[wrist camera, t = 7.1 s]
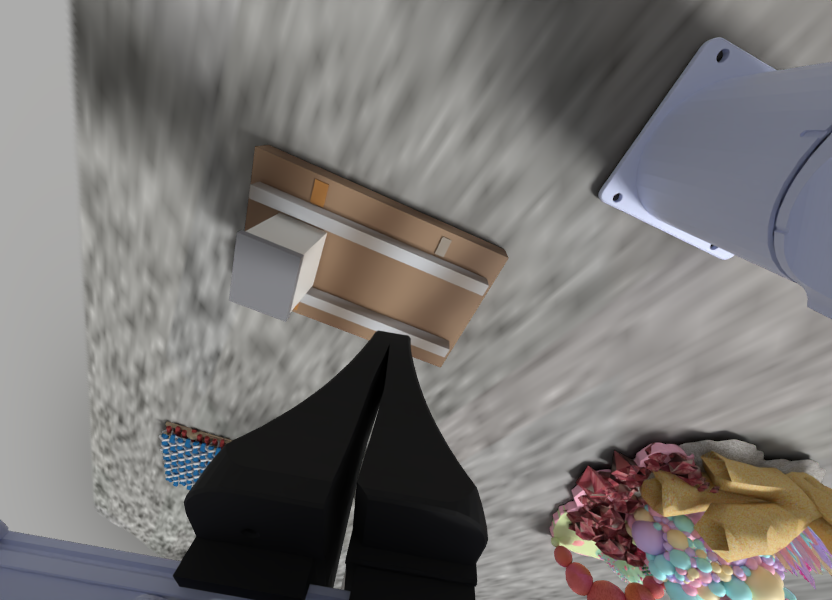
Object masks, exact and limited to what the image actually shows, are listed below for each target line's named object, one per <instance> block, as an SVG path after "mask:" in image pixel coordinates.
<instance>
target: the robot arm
mask: <svg viewBox="0 0 832 600" xmlns="http://www.w3.org/2000/svg"><path fill="white" fill-rule="evenodd" d="M720 51H722V52H723V57H722V59H721V60H720V61H719V62H717V60H716V57H717V55H718V53H719V52H720ZM617 193H619V198H618V199H617V200H616V201H613V197H614V195H615V194H617ZM598 197H599V199H600V200H601V201H602V202H604V203H607V204H609V205H611V206H613V207H615V208H617V209H619V210H621V211H623V212H625V213H627V214H629V215H631V216H633V217H635V218H637V219H639V220H641V221H644V222H646V223H648V224H650V225H652V226H654V227H656V228H658V229H660V230H662V231H664V232H666V233H668V234H670V235H672V236H674V237H676V238H678V239H681V240H683V241H685V242H687V243H689V244H691V245H693V246H695V247H697V248H699V249H701V250H703V251H705V252H707V253H709V254H711V255H713V256H715V257H717V258H720V259H723V260H725V259H729V258H731V257H732V256H734V255H736V256H738V257H741V258H743V259H745V260H747V261H749V262H752V263H754V264H756V265H758V266H760V267H763V268H765V269H767V270H769V271H771V272H773V273H776V274H778V275H780V276H782V277H784V278H787V279H789V280H791V281H793V282H796V283H798V284H799V285H801V286H802V287H803V288H804V289H805V291H806V293H807V296H808V303H807V306H808V307H809V308H811V309H813V310H814V311H816V312H818V313H820V314H822V315H824V316H826V317H828V318H830V319H832V62H827V63H821V64H815V65H809V66H802V67H796V68H790V69H784V70H776V69H774V68H772V67H771V66H769V65H767V64H766V63H764V62H762V61H761V60H759V59H757V58H756V57H754V56H752V55H751V54H749V53H747V52H746V51H744V50H742V49H741V48H739V47H737V46H736V45H734V44H732V43H731V42H729V41H727V40H726V39H724V38H721V37H716V38H713V39H710V40H708V41H706V42H705V43H704V44H703V45H702V46H701V47H700V48H699V50H698V51H697V53H696V54H695V55H694V57H693V58H692V60H691V61H690V63H689V64H688V65H687V67H686V68H685V70H684V71H683V73H682V74H681V75H680V77H679V78H678V80H677V81H676V82H675V84H674V85H673V87H672V88H671V90H670V91H669V92H668V94H667V95H666V97H665V98H664V100H663V101H662V102H661V104H660V105H659V107H658V108H657V110H656V111H655V112H654V114H653V115H652V117H651V118H650V120H649V121H648V122H647V124H646V125H645V127H644V128H643V130H642V131H641V132H640V134H639V135H638V137H637V138H636V139H635V141H634V142H633V144H632V145H631V147H630V148H629V149H628V151H627V152H626V154H625V155H624V157H623V158H622V159H621V161H620V162H619V164H618V165H617V167H616V168H615V169H614V171H613V172H612V174H611V175H610V177H609V178H608V179H607V181H606V182H605V184H604V185H603V187H602V188H601V189H600V191H599V195H598ZM711 244H712V245H713V246H712V247H710V246H711ZM378 409H379V410H378ZM377 412H378V413H377ZM376 415H377V417H376ZM375 418H376V421H375ZM374 421H375V424H374ZM373 424H374V428H373V431H372V435H371V438H370V441H369V445H368V448H367V451H366V455H365V458H364V461H363V464H362V468H361V471H360V467H361V463H362V459H363V455H364V451H365V448H366V445H367V442H368V439H369V436H370V433H371V430H372V427H373ZM359 471H360V474H359ZM358 476H359V477H358ZM356 484H357V487H356ZM355 488H356V498H355V509H354V521H353V530H352V534H351V539H350V543H349V547H348V551H347V556H346V561H345V564H346V574H345V587H344V590H341V589H335V588H333V586H334V582H335V577H336V573H337V568H338V564H339V559H340V555H341V550H342V546H343V541H344V537H345V532H346V528H347V523H348V519H349V515H350V510H351V506H352V501H353V497H354V493H355ZM184 506H185V511H186V514H187V517H188V519H189V521H190V523H191V525H192V528H193V530H194V532H195V534H196V538H195V539H194V541H193V543H192V544H191V546H190V548H189V549H188V551H187V553H186V554H185V556H184V558H183V559H182V561H177V560H171V559H166V558H160V557H154V556H149V555H143V554H137V553H132V552H126V551H120V550H114V549H109V548H103V547H98V546H92V545H87V544H81V543H74V542H70V541H64V540H58V539H52V538H47V537H41V536H35V535H30V534H24V533H19V532H13V531H8V527H7V526H6V524H5V523H4V522H2V521H1V520H0V600H475V587H474V586H476V585H477V570H476V563H477V561H478V559H479V557H480V556H481V554H482V552H483V550H484V549H485V547H486V544H487V541H488V534H487V526H486V520H485V515H484V511H483V507H482V503H481V500H480V496H479V493H478V490H477V487H476V486H475V484H474V483H473V482H472V480H471V479H470V478H469V476H468V475H467V474H466V472H465V471H464V469H463V468H462V467H461V465H460V464H459V462H458V461H457V459H456V457H455V456H454V454H453V453H452V451H451V450H450V448H449V446H448V445H447V443H446V441H445V439H444V438H443V436H442V434H441V432H440V431H439V429H438V427H437V425H436V423H435V421H434V419H433V417H432V415H431V413H430V410H429V408H428V406H427V404H426V401H425V399H424V396H423V393H422V390H421V388H420V385H419V382H418V378H417V375H416V371H415V367H414V363H413V358H412V352H411V338H410V337H409V336H408V335H402V334H396V333H390V332H385V331H379V330H378V331H376V332H375V333H374V335H373V336H372V338H371V339H370V340H369V342H368V343H367V344H366V345H365V346H364V348H363V349H362V350H361V351H360V352H359V353H358V354H357V355H356V356H355V358H354V359H353V360H352V361H351V362H350V363H349V364H348V365H347V366H346V367H345V368H344V369H342V370H341V371H340V372H339V373H338V374H337V375H336V376H335V377H334V378H333V379H332V380H330V381H329V382H328V383H327V384H326V385H324V386H323V387H322V388H321V389H319V390H318V391H317V392H315V393H314V394H313V395H311V396H310V397H308V398H307V399H306V400H304V401H303V402H301V403H300V404H298V405H297V406H295V407H294V408H292V409H291V410H289V411H287V412H286V413H284V414H282V415H281V416H279V417H277V418H276V419H274V420H272V421H270V422H269V423H267V424H265V425H263V426H261V427H260V428H258V429H256V430H254V431H252V432H250V433H248V434H245V435H243V436H241V437H239V438H237V439H235V440H233V441H231V442H229V443H227V444H225V446H224V447H223V448H222V449H221V450H220V452H219V453H218V454H217V455H216V456H215V457H214V458H213V460H212V461H211V462H210V463H209V464H208V466H207V467H206V468H205V470H204V471H203V473H202V474H201V476H200V477H199V478H198V480H197V481H196V483H195V484H194V485H193V487H192V488H191V490H190V491H189V493H188V494H187V495H186V498H185V500H184Z"/></svg>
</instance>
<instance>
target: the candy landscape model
mask: <svg viewBox="0 0 832 600" xmlns="http://www.w3.org/2000/svg"><path fill="white" fill-rule="evenodd" d="M763 458H764V453H763V452H762V451H758V450H756V446H755V445H753V444H749V443H746V442H742V441H739V440H736V439H732V440H725V441H718V442H716V441H712V440H704V441H698V442H691V443H684V444H681V445H680V446H677V445H675V444H663V443H659V442H658V443H655V442H654V443H652V444H650V445H648V446H647V447H645V448H643V449H642V450H641V451H639V452H638V453H637V454H636V458H634V459H633V460H631V459H629V458H628V457H626V456H624V455H622V454H620V453H619V452H617V451H615V450H614V455H613V462H612V469H611V470H610V469H605V470H598V471H595V470H594V469H592V468H591V467H590V466H587V468H586V469H585V470H584V472H583V473H582V475H581V476H580V477H579V479H578V480H577V482H576V483H577V484H578V485H577V486H576V487H575V488H573V489H572V494H573V497H574V501H571V502H568V503H567V504H566V505H562V506H559V509H558V511H557V512H556V513H555V514H553V521H552V525H551V526H550V532H551V535H552V538H551V543H552V545H553V546H555V547H556V548H555V551H554V556H555V559H556V561H557V562H558V564H559V565H561V566H563V567H567V568H566V580H567V583H568V585H569V587H570V588H571V589H572V590H573V591H574V592H575V593H577V594H579V595H583V596H585V595H587V600H656V599H660V598H662V597H663V595H664V592H665V590H666V592H667V594H668V595H669V597H670V599H671V600H797V599H796V597H795V595H794V594H793V593H792V592H791V591H790V590H789V589H787V588H786V587H784V585H783V581H782V580H784V578H785V575H784V573H783V572H787V571H786V569H788V570H789V571H790V572H791V573H792V571H793V572H794V574H795V575H796V576H797V574H796V572H795V569H796V570H797V569H798V570H800V571H799V573H800V574H801V575H803V576H804V579H806V580H807V581H808V582H810V583H811V585H812V586H813V587H814V588H815V581H814V579H813V577H812V576H811V574H810V572H809V571H811V570H812V569H813V570H814V571H815V573H816V574H821V575H823V574H822V573H821V569H822V568H821V567H820V562H821V564H822V565H823V566H824V567H825V569H826V570H827V571H828V572H829V574H830V575H831V576H832V563H831V561H830V559H829V558H828V556H827V555H826V554H825V552H827V553H828V554H829V555H830V556H831V557H832V489H831V488H828V487H826V486H824V485H823V484H822V480H823V477H824V474H825V469H823V468H820V467H819V463H818V462H814V461H812V460H809V459H808V460H798V461H788V460H786V459H777V460H769V461H766V460H764V459H763ZM559 545H561V546H559ZM569 550H571V551H573V552H575V553H578V554H581V555H585V556H591V557H595V558H597V559H601V560H604V561H605V563H607V562H608V563H607V565H608V566H609V565H610V567H609V568H610V569H612V570H613V572H614V571H615V572H614V573H615V574H617V575H618V576H619V575H622V576H619V577H620V579H621V578H623V576H624V578H626V580H624V582H626V583H627V581H629V582H628V583H629V584H628V585H627V587H626V588H625V594H624V593H623V592H622V591H621V590H620V589H619V587H617V586H616V585H614V584H612V583H611V582H609V581H604V580H601V581H595V582H594V583H593V578H592V576H591V574H590V572H589V570H588V569H587V568H586V567H585V566H583V565H582V564H580V563H576V562H573V563H572V555H571V552H570V551H569ZM823 550H824V551H825V552H824V551H823ZM777 557H778V558H777ZM779 560H780V561H779ZM606 561H607V562H606ZM716 561H718V562H719V563H720V564H721V565H719V564H718V563H716ZM781 563H782V564H783V565H782V564H781ZM808 565H809V566H810V567H811V568H812V569H811V568H810V567H809V566H808ZM612 567H614V569H613V568H612ZM784 567H785V568H784ZM794 568H795V569H794ZM818 568H819V569H818ZM616 570H617V571H616ZM822 570H823V569H822ZM823 571H824V570H823ZM616 572H617V573H616ZM710 572H711V573H710ZM792 574H793V573H792ZM797 577H798V576H797ZM621 580H623V579H621ZM631 582H632V583H631ZM815 590H816V588H815Z"/></svg>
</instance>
